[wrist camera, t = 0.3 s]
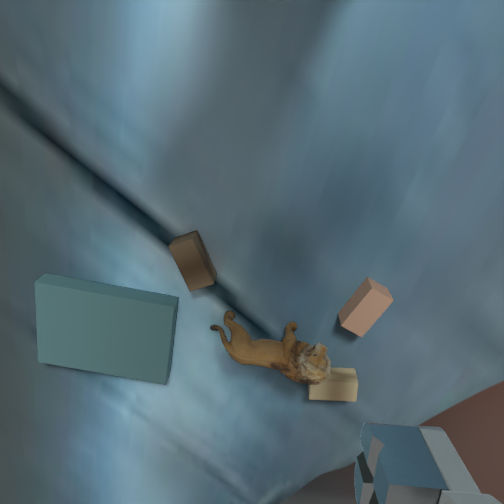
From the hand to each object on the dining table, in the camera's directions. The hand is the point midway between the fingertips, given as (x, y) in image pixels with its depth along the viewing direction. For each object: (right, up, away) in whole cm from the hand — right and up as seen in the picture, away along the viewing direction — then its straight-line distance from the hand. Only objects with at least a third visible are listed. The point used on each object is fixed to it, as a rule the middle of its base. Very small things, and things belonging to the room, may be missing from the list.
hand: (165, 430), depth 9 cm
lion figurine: (+4, -6, +45) cm, 45 cm away
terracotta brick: (+15, -2, +43) cm, 45 cm away
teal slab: (-17, -6, +46) cm, 49 cm away
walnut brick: (-5, +3, +42) cm, 42 cm away
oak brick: (+12, -13, +47) cm, 51 cm away
